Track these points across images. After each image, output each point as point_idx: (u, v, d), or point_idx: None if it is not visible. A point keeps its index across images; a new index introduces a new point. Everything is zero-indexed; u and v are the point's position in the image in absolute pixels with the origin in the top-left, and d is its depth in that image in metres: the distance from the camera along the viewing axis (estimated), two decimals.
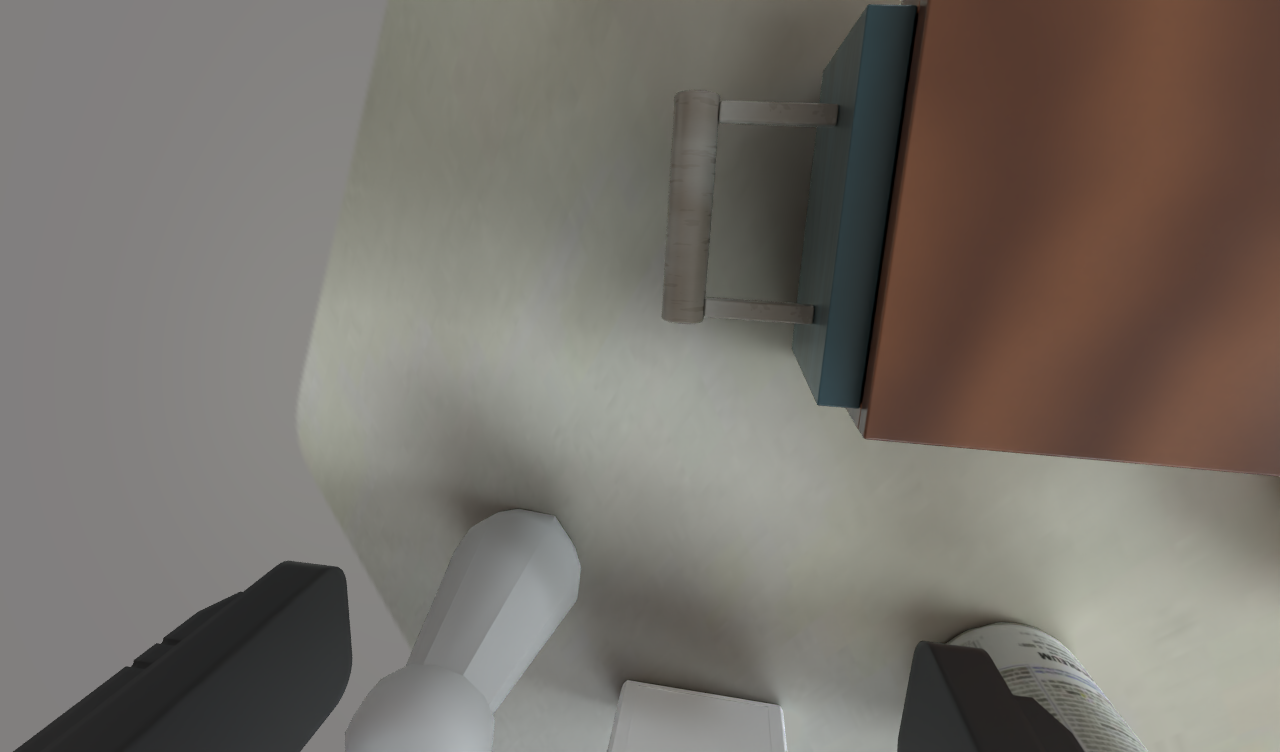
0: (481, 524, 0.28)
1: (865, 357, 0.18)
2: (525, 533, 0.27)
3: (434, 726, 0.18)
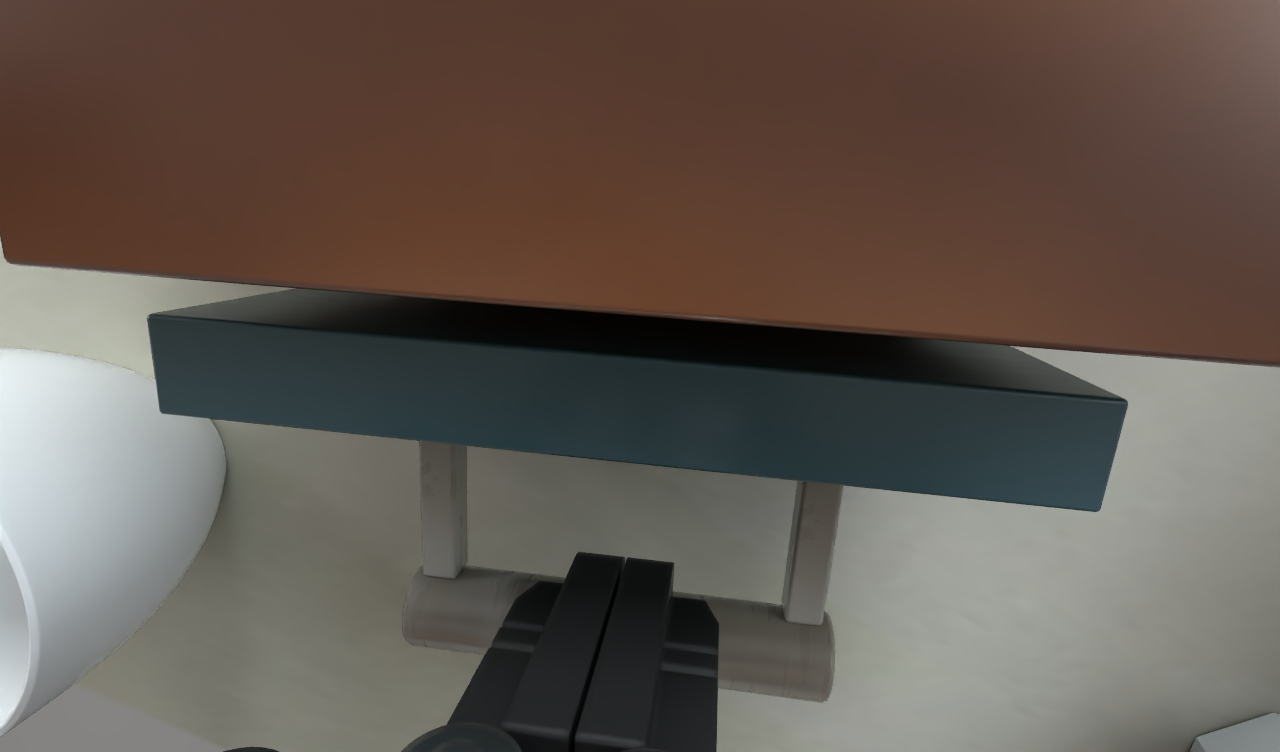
0: None
1: (964, 388, 0.06)
2: None
3: None
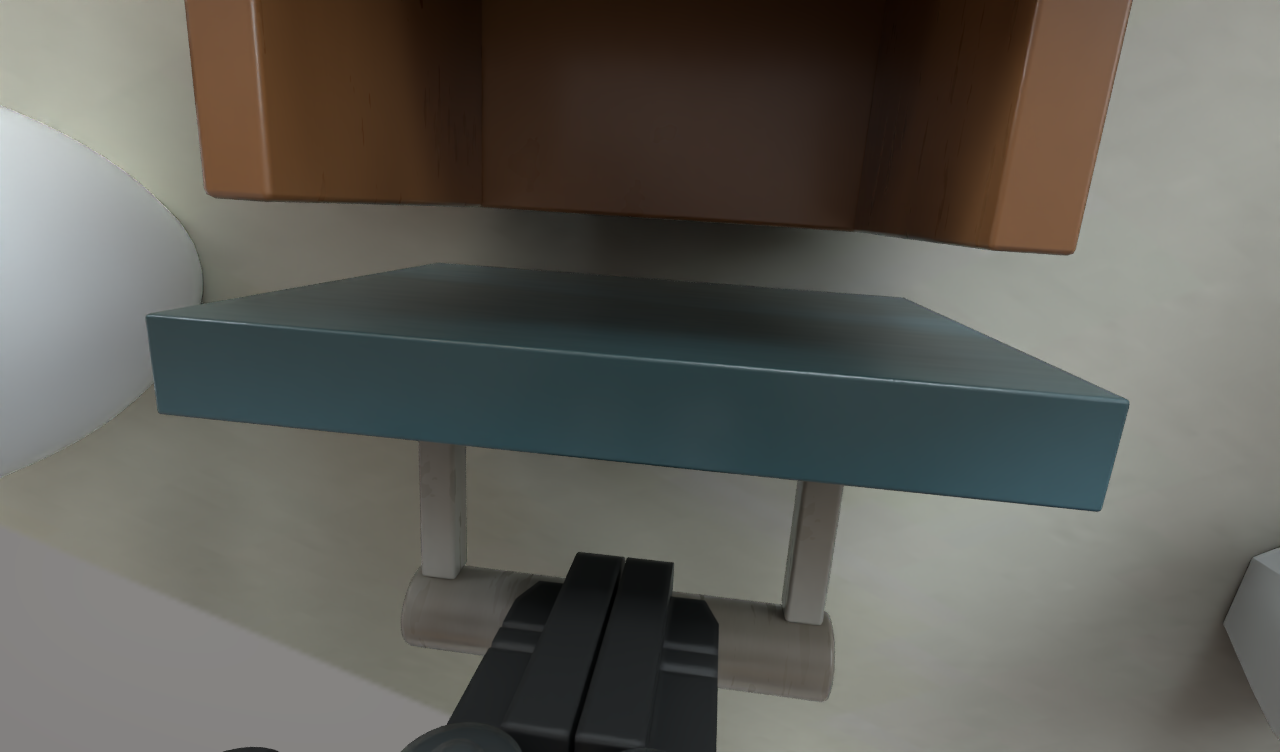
0: None
1: (966, 388, 0.06)
2: None
3: None
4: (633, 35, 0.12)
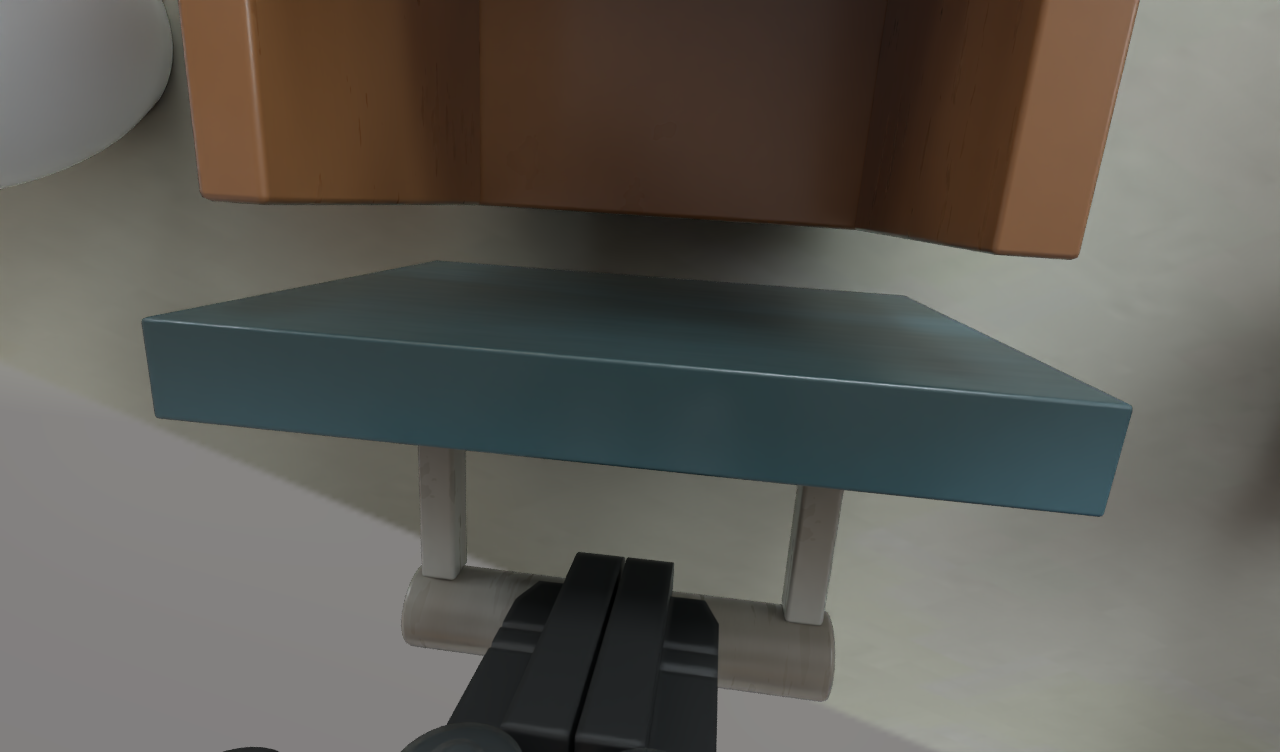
0: None
1: (969, 393, 0.06)
2: None
3: None
4: (632, 31, 0.12)
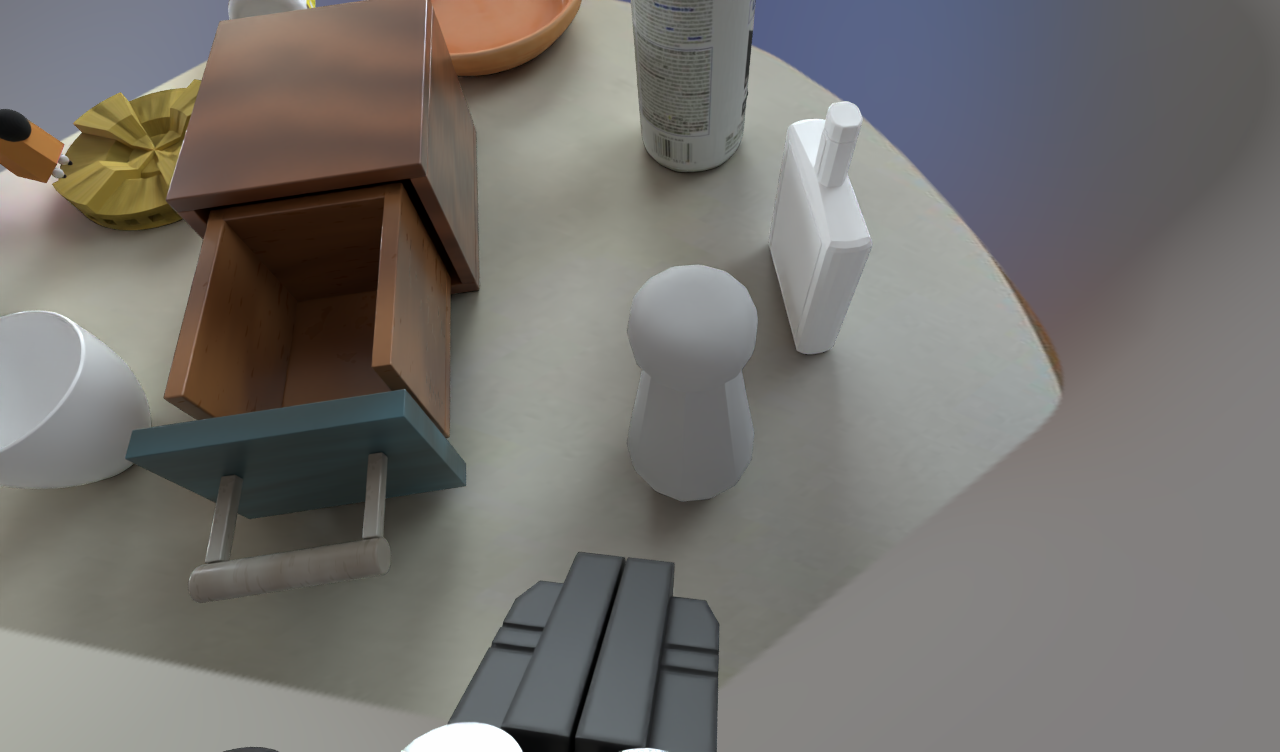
0: (642, 475, 0.29)
1: (366, 395, 0.24)
2: (630, 425, 0.29)
3: (639, 293, 0.21)
4: (341, 388, 0.32)
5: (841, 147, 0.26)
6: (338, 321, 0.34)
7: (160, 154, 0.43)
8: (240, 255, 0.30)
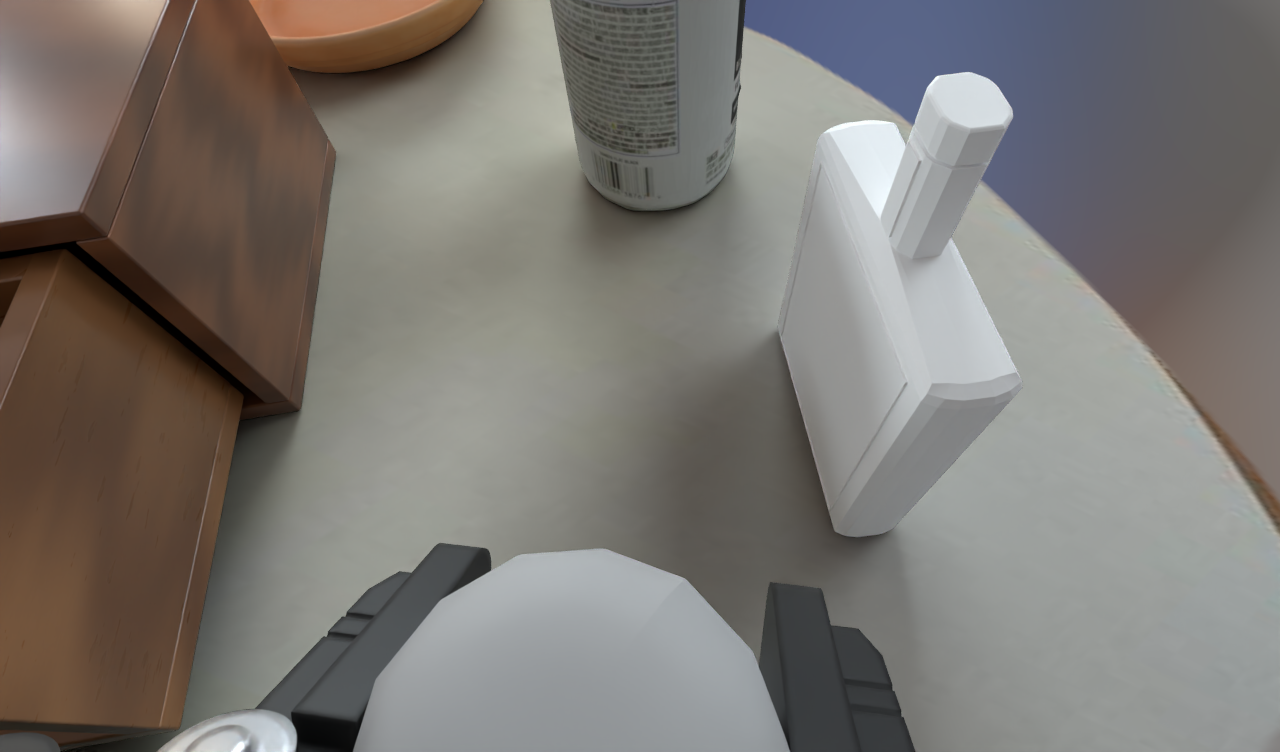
0: None
1: None
2: None
3: (385, 684, 0.06)
4: None
5: (958, 177, 0.11)
6: None
7: None
8: None
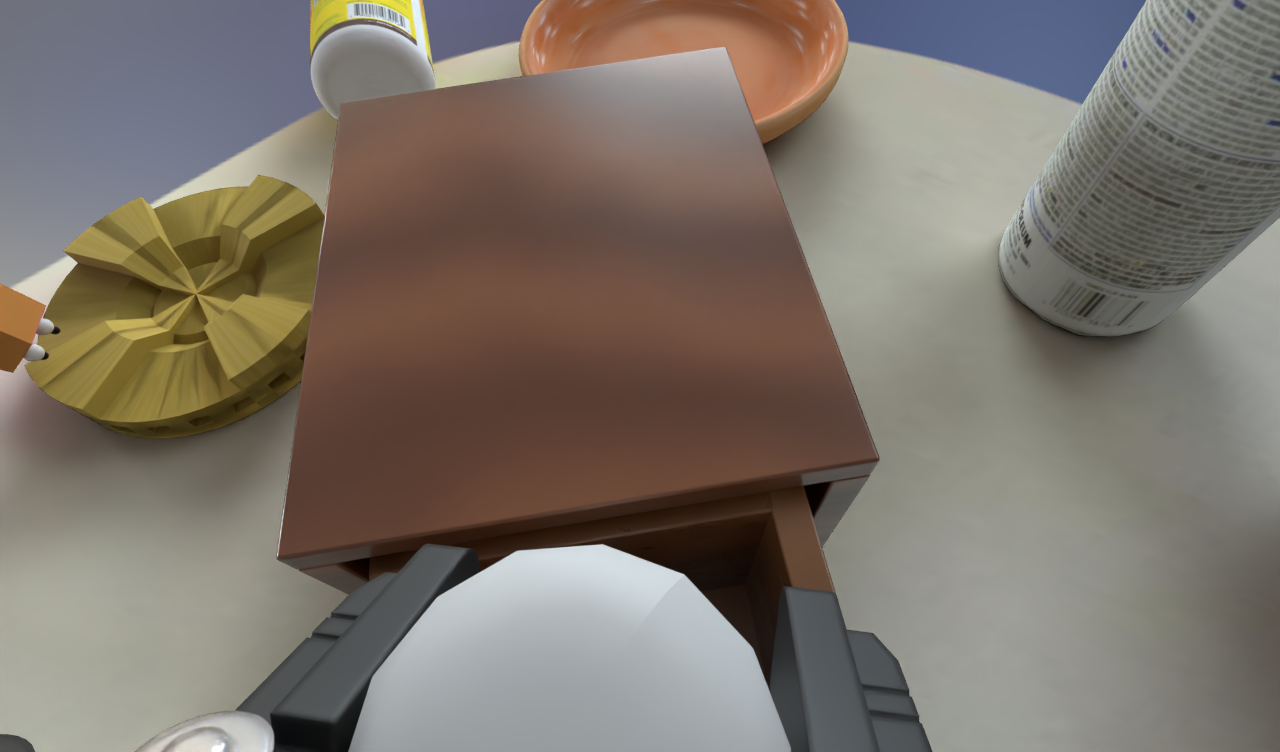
0: None
1: None
2: None
3: (382, 680, 0.06)
4: None
5: None
6: None
7: (206, 303, 0.26)
8: None
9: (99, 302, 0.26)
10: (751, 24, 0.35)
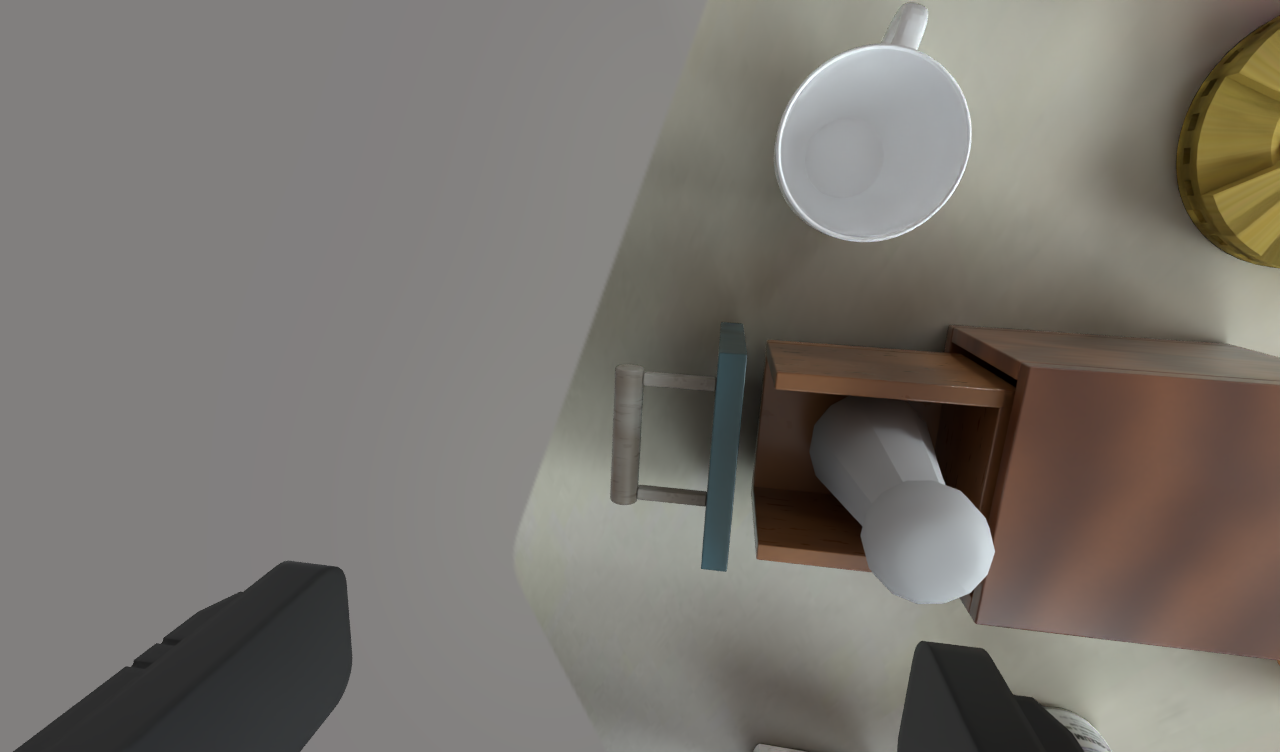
0: (846, 401, 0.31)
1: (728, 542, 0.30)
2: (896, 405, 0.30)
3: (970, 516, 0.22)
4: None
5: None
6: None
7: None
8: None
9: None
10: None
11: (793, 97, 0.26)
